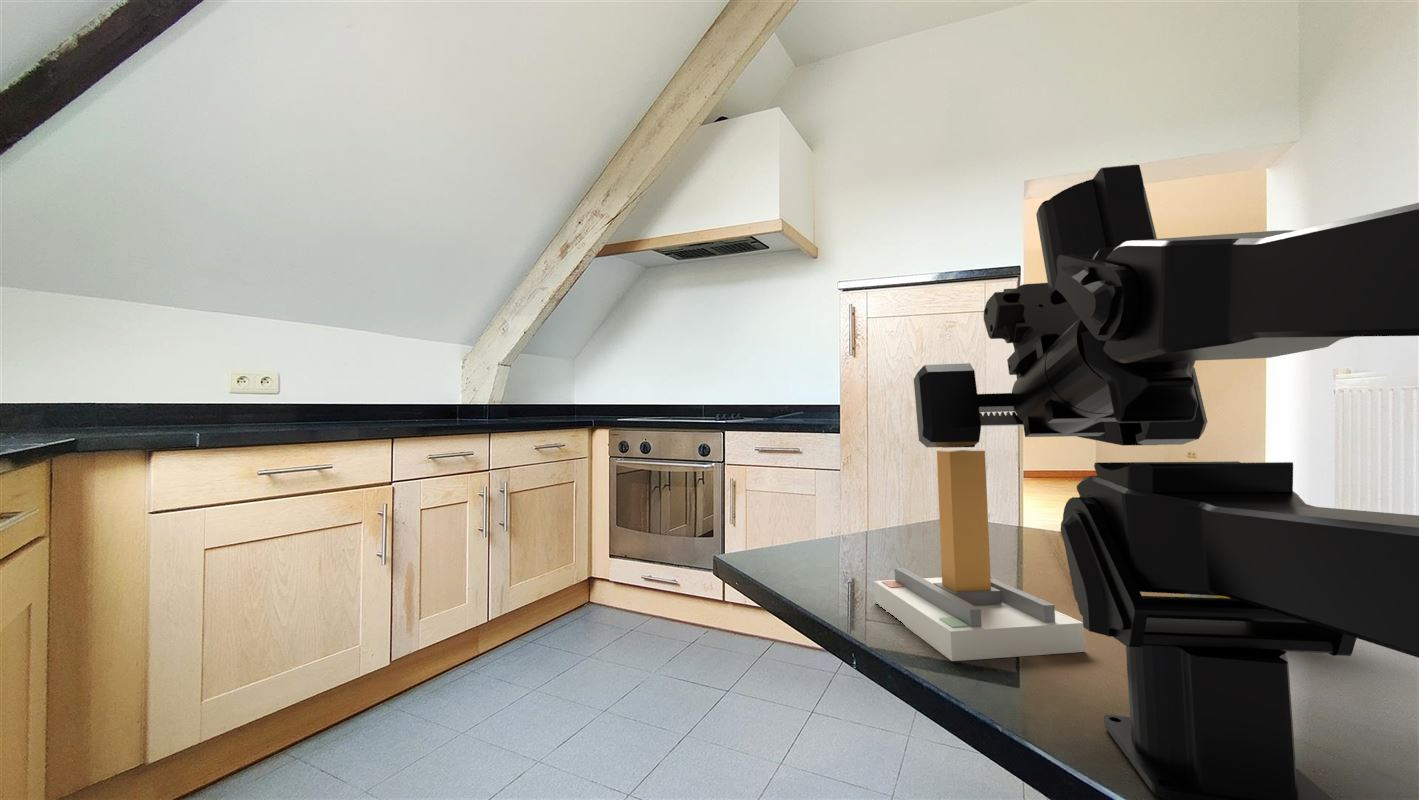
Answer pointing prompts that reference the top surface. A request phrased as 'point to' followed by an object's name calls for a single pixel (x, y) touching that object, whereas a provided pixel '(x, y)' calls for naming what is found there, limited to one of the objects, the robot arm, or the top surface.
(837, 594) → the top surface
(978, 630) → the plate
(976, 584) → the handle
